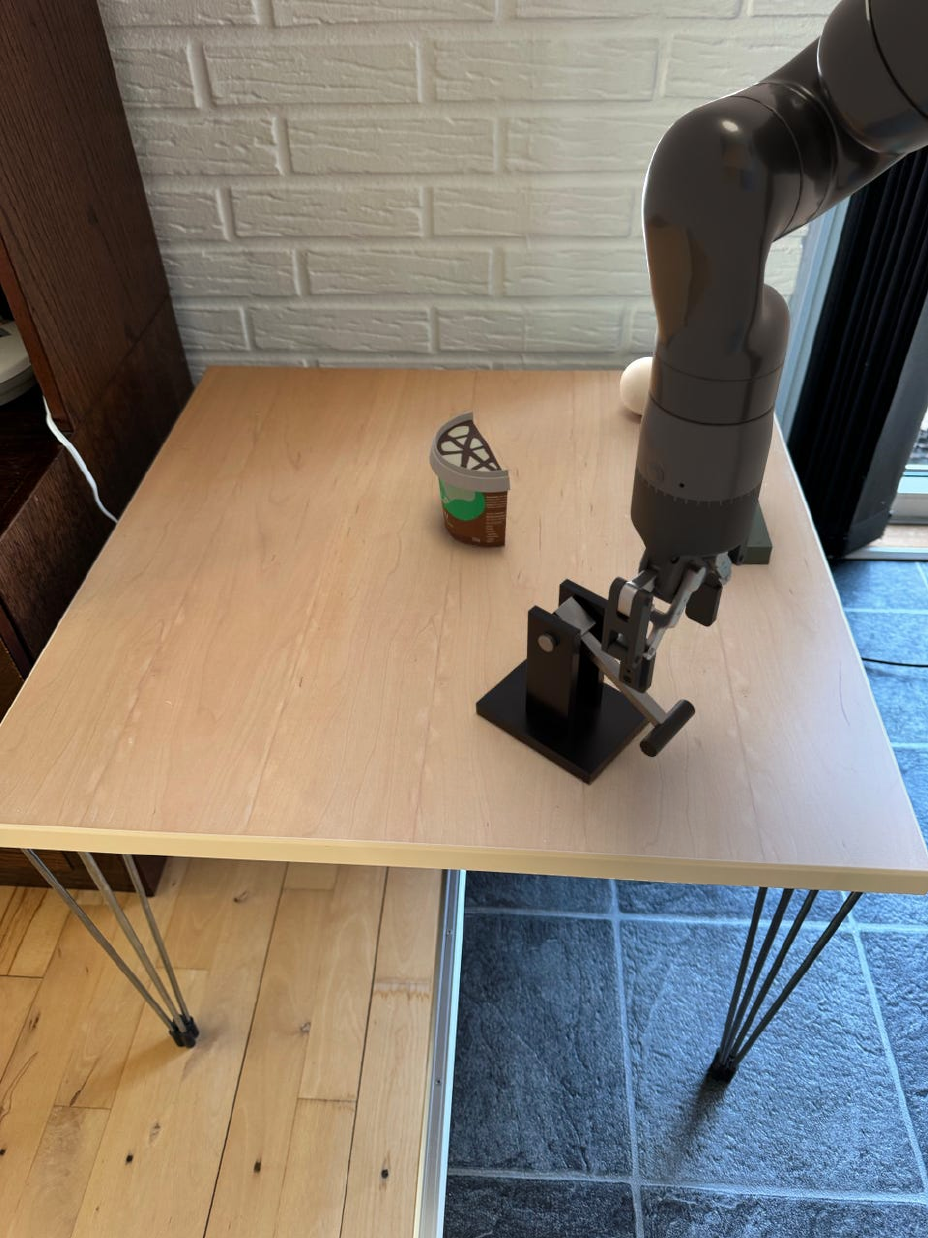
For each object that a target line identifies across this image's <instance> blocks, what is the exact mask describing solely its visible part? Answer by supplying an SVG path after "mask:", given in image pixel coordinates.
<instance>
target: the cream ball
mask: <svg viewBox="0 0 928 1238" xmlns="http://www.w3.org/2000/svg"><path fill="white" fill-rule="evenodd" d="M652 359H653V356H646V357H641V358H638V359H636V360H634V361H633V362H631V363H630V364H629V365H628V366H627V367H626V368H625V369H624V371H623V373H622V375H621V378H620V382H619V392H620V393H619V394H620V397H621V400H622V402H623V403H624V405H625V406H626V407H627V409H628V410H629V411H631V412H633V413H634V414H637V415H640V416H642V414H643V410H644V407H645V403H646V400H647V396H648V391H649V385H650V376H651V368H652Z"/></svg>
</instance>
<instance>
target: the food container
mask: <svg viewBox="0 0 928 1238" xmlns="http://www.w3.org/2000/svg"><path fill="white" fill-rule="evenodd" d="M428 458H429V465H430V467H431V470H432V471H433V473H434V474H435V475H436V476H437V480H438V486H439V494H440V501H441V508H442V513H443V515H442V517H443V521H444V523H443V524H444V527H445V530H446V531H447V533H448V534H449V535H450V536H451V537H452V538H454V539H455V540H457V541H458V542H460V543H463V544H465V545H469V546H473V547H478V548H497V547H503V546H506V532H507V511H508V493H509V491H511V483H510V476H509V475H510V473H509V469H502V468H501V466H500V464H499V462H498V461H497V458H496V456H495V454H494V453H493V450H492V448H491V446H490V445H489V443H488V442H487V440H486V439H485V438H484V437H483V435H482V434H481V432H480V431H479V428H478V427H477V426H476V424H475V422H474V411H473V410H472V411H469V412H468V411H467V412H465V413H461V414H458V415H456V416H454V417H453V418H450V419H448V420H447V421H445V422H444V423H443V424H442V425H440V427H439V428H438V429H437V431H436V432H435V434H434V437H433V439H432V441H431V447H430V452H429V457H428Z"/></svg>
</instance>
